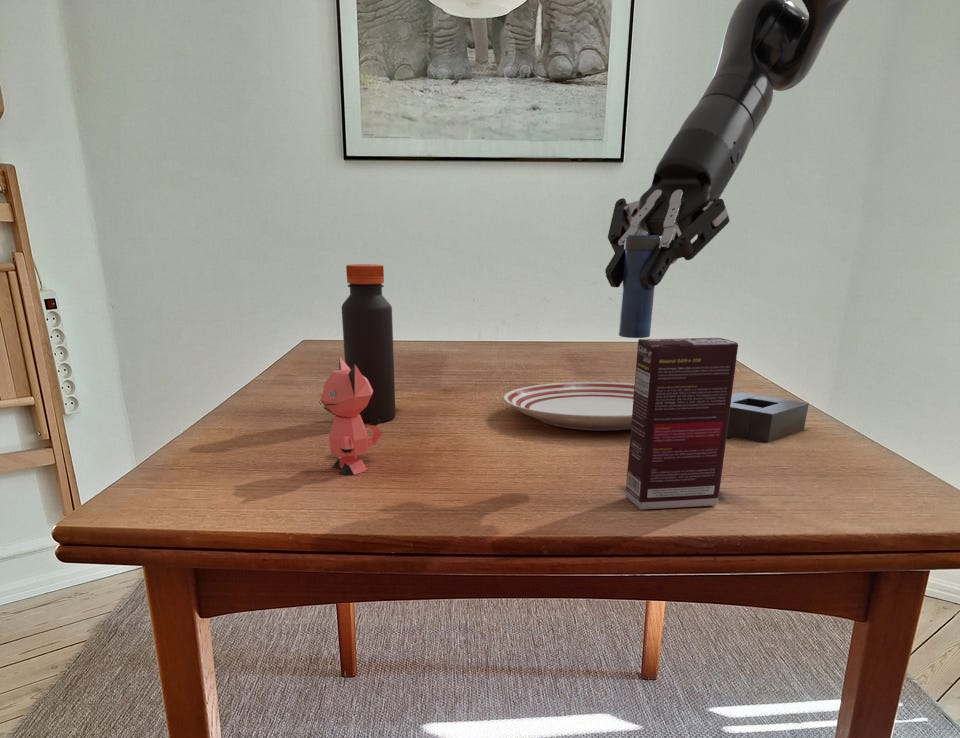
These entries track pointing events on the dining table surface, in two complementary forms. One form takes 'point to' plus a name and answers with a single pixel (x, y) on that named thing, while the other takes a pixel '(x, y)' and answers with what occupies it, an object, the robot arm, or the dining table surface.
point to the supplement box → (679, 421)
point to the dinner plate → (577, 404)
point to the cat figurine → (349, 417)
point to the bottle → (370, 338)
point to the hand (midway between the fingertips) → (628, 282)
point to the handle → (636, 287)
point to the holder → (764, 417)
